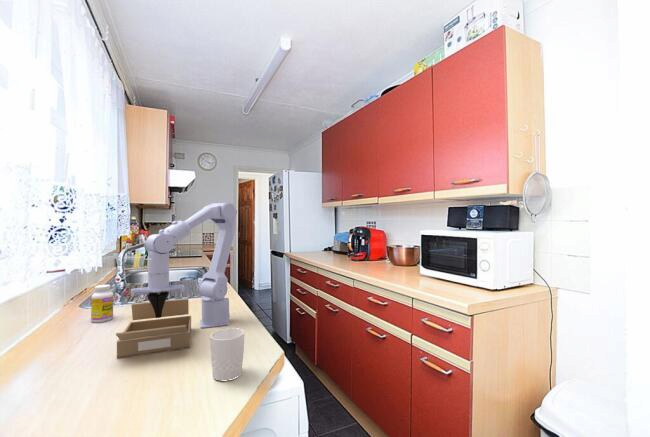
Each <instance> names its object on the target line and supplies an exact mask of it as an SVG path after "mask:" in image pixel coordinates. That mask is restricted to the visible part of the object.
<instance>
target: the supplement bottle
mask: <svg viewBox="0 0 650 437" xmlns="http://www.w3.org/2000/svg"><path fill="white" fill-rule="evenodd" d="M90 300H91V302H90V306H91V307H90V314H91V315H90V320H91V322H92V323H95V324H97V323H106V322H108V321H111V320H112V319H113V318H114V293H113V291H111V285H110V284H99V285H96V286H94V293H93V294H92V295H91V298H90Z"/></svg>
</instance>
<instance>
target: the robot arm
mask: <svg viewBox="0 0 650 437" xmlns="http://www.w3.org/2000/svg"><path fill="white" fill-rule="evenodd" d="M237 215H238V210H237V209H236V207H235V205H234V204H233V203H231V202H229V201H228V202H221V203H220V202H211V203H209V204H207V205H205V206H204V207H203V208H202V209H200V210H199V211H197V212H195V214H193V215H191V216H190V217H188V218H187V219H186V220H173V221H171V224H170V225H169V226H167V227H165V228H163V229H160V230H158V233H156V234H155V233H153V234H150V235H149V236H148V237H147V238H146V240H145V243H144V242H143V247H144V249H145V250H146V251H147V286H146V287H145V286H144V287H137V288H131V289H130V297H136V296H145V295H146V296H148V297H147V299H148V302H150V303H151V304H152V307H153V309H154V312H155V316H156V318H155V319H162V317H161V316H162V310H163V306H164V303H165V301H167V299H168V296H169V294H171V293H179V292H180V293H185V284H170V252H172V250H173V248H174V245H176V244H178V243H179V242H180V241H182V240H183V239H185V238H187V237H188V236H189V235H190V233H191V230H192V229H194V228H196V227H197V226H199V225H201V224H202V223H204V222H206V221H208V220H209V219H210V220H211V221H212V222H213V223H214V224H215V225H216V226H217V227H218V228H219V233H218V236H217V238H216V243H215V247H214V250H213V255H212V257H211V258H212V259H211V260H210V265H209V269H208V271H206V272H205V273H204V274H203V276H202V279H201V280H200V282H199V283H198V285H197V293H198V295H199V296H200V299H201V320H200V328H201V329H205V328H207V329H208V328H212V327H220V326H229V325H230V316H231V315H230V299H229V297H226V295H227V293H228V281H229V279H228V277H227V276H226V274H225V272H226V268H227V264H228V259H229V256H230V252H231V248H232V245H233V241H234V237H235V233H236V229H237V223H236V218H237Z"/></svg>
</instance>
